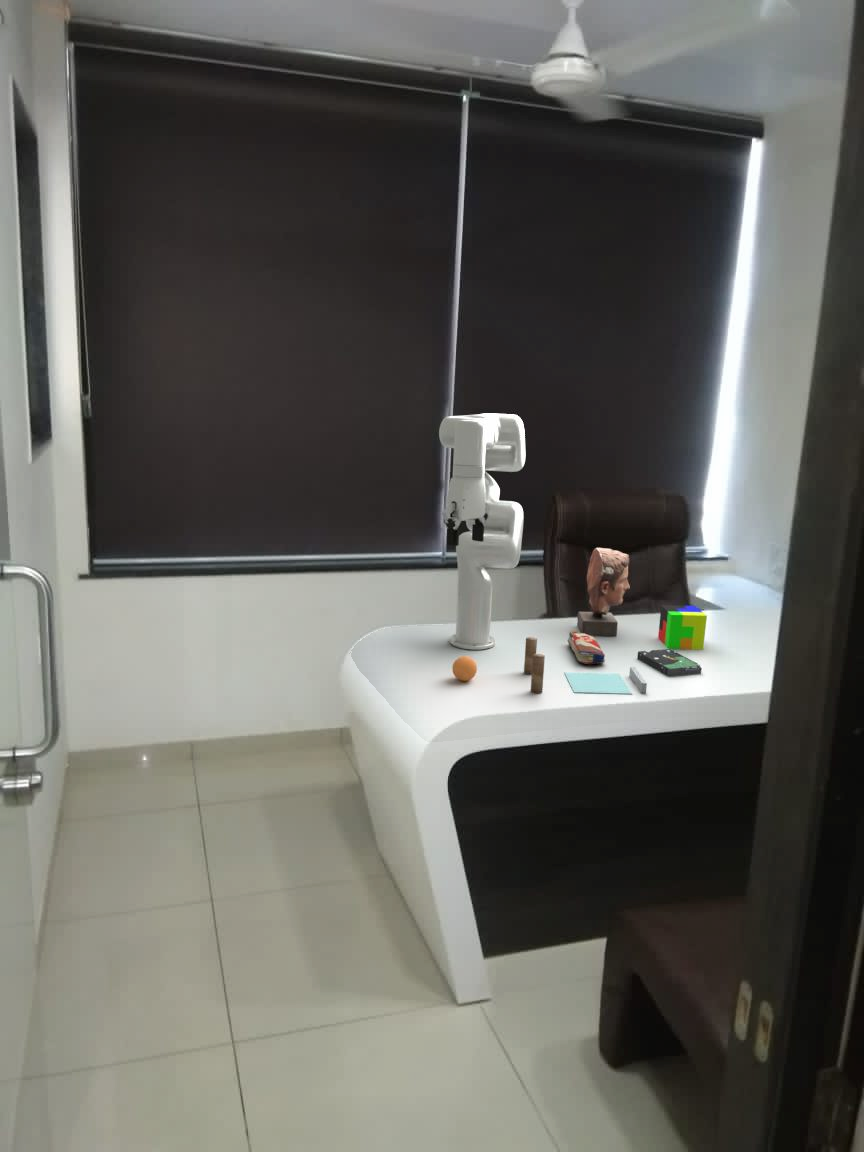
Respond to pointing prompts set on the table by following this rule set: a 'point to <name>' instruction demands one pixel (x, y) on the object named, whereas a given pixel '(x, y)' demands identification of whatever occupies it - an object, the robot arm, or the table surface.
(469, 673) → the ball
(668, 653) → the disk drive
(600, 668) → the table surface
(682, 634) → the puzzle toy
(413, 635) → the table surface
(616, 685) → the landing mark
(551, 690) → the table surface
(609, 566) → the bust
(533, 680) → the post
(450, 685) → the table surface
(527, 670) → the post
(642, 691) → the stopper strip
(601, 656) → the pencil case
